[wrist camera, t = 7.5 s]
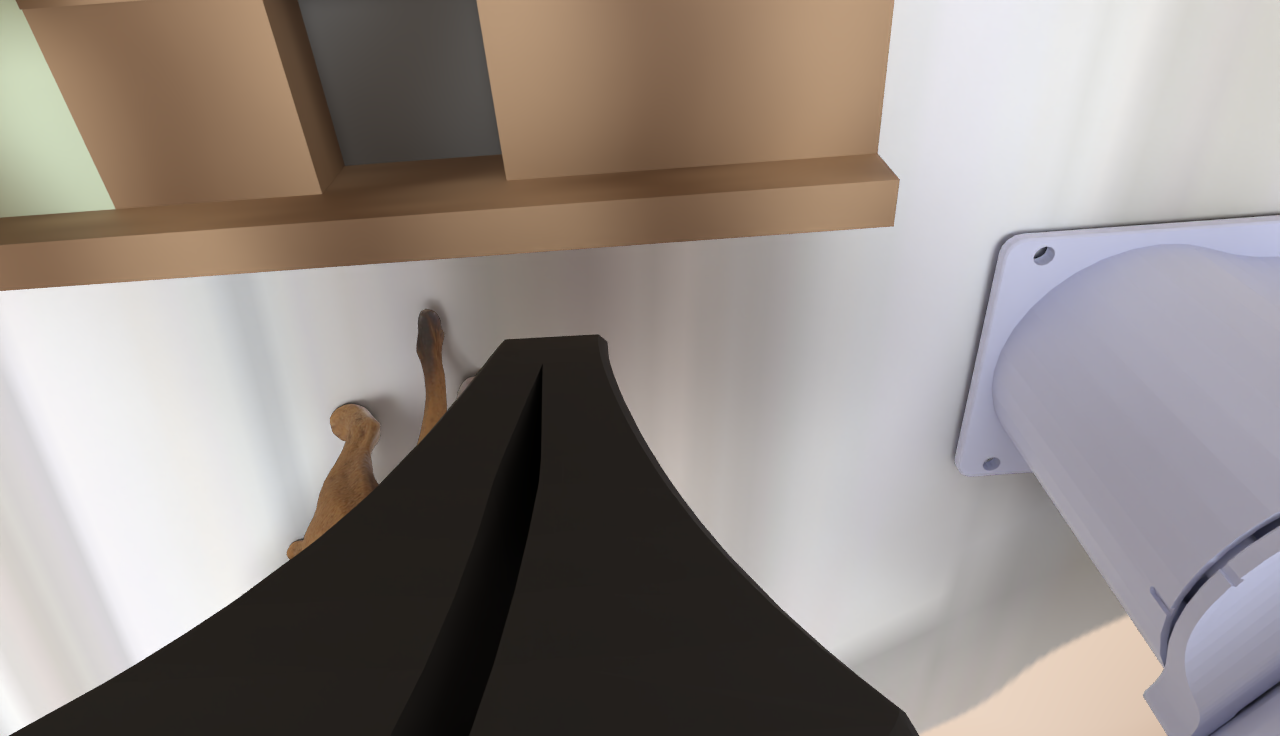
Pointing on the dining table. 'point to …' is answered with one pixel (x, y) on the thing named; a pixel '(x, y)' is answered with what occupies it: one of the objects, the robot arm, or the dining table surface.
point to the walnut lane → (425, 130)
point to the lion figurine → (374, 437)
